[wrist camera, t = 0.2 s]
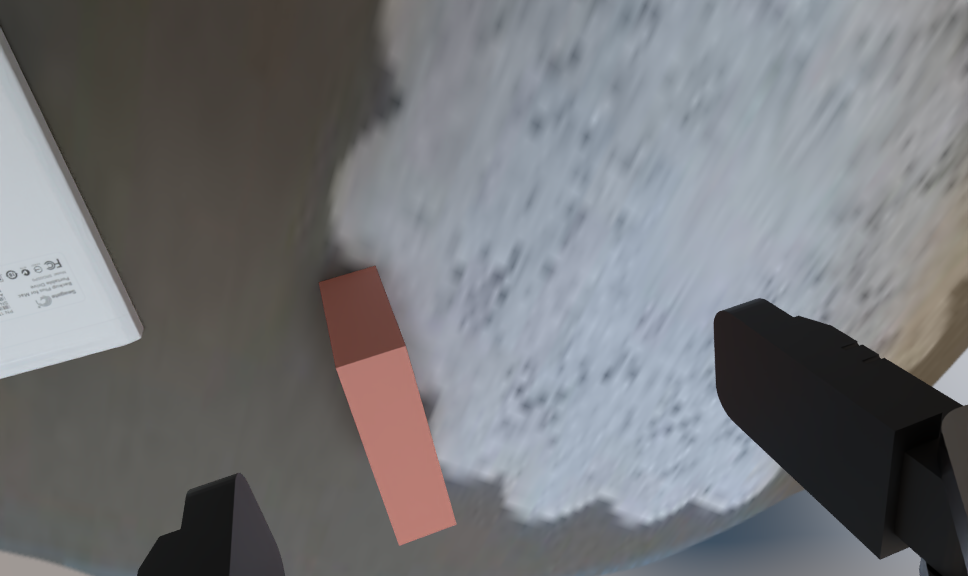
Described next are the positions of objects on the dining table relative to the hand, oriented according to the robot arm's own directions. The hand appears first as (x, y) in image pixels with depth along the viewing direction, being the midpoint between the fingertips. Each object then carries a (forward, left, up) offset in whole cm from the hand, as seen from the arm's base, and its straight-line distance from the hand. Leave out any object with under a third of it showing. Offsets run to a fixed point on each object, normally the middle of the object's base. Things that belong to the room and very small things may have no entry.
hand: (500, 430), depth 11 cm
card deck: (+10, -2, -17) cm, 20 cm away
